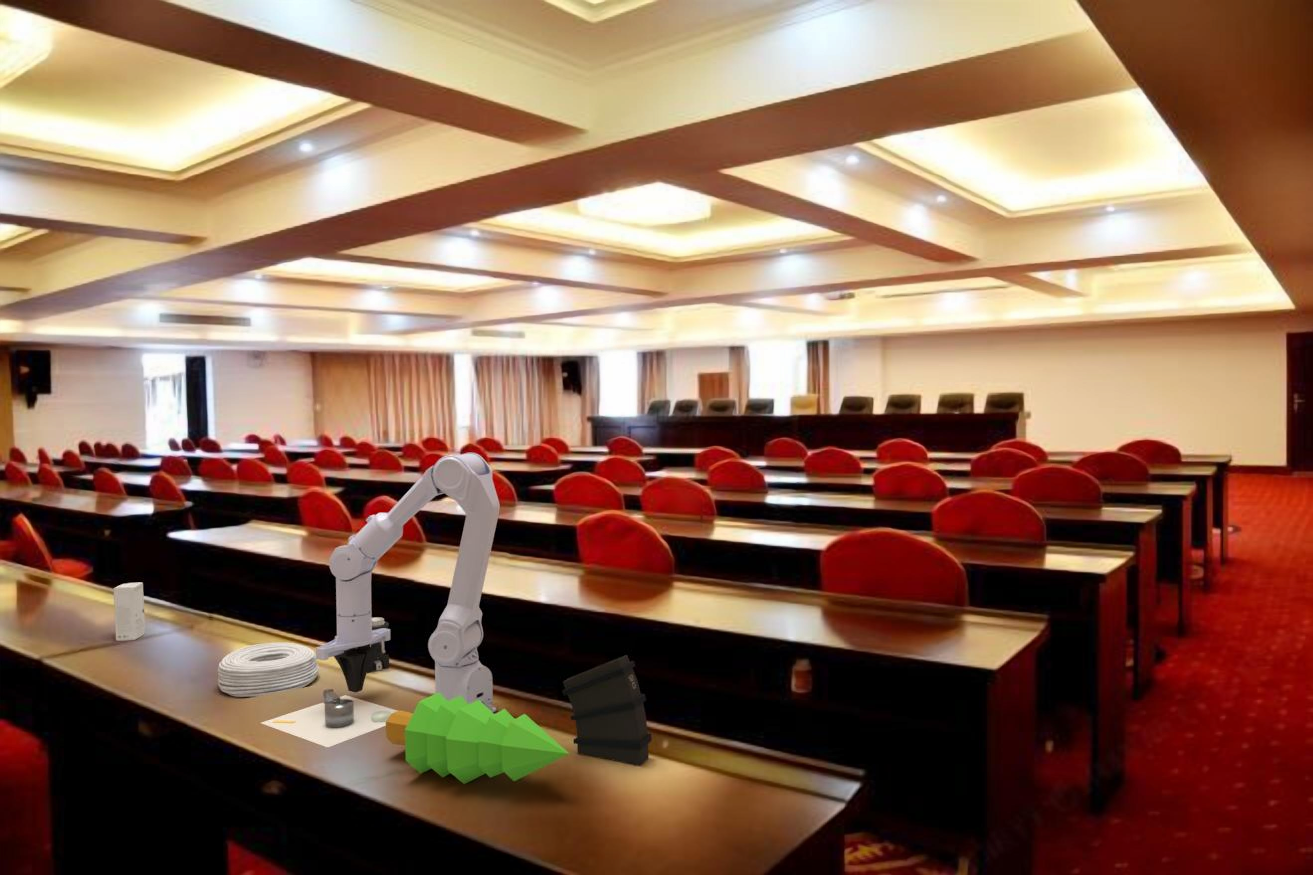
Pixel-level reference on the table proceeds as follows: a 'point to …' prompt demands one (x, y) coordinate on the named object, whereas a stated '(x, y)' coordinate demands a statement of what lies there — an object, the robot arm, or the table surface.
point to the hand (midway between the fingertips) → (355, 690)
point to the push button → (379, 648)
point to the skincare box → (129, 611)
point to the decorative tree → (470, 740)
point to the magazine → (609, 712)
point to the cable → (267, 669)
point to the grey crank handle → (337, 709)
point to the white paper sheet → (314, 729)
